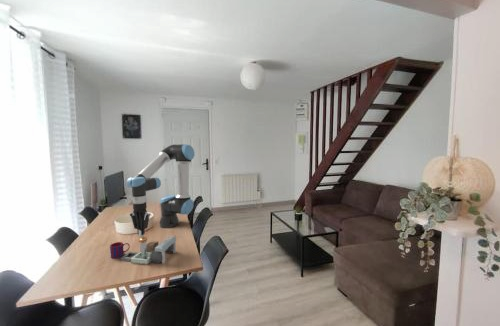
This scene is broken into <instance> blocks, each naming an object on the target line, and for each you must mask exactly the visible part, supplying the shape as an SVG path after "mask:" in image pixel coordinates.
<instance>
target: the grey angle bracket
mask: <svg viewBox="0 0 500 326" xmlns="http://www.w3.org/2000/svg"><path fill="white" fill-rule="evenodd" d="M176 242H177V235H176V234H175V235H173V236H172V237H168V236H167V238H165V239H164V240H163V241H161V243H158V244H159V245H158V246H157V247H155V250H154V251H153V252H152V253H151V255H150V258H151V260H152V261H151V262H152V263H153V264H159V263H161V264H165V263H166V253H167V254H170V253H171V252H173V254H176V253H177V246H176V245H177V244H176Z"/></svg>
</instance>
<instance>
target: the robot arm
mask: <svg viewBox="0 0 500 326" xmlns="http://www.w3.org/2000/svg"><path fill="white" fill-rule="evenodd" d="M194 157H195V149H194V148H193V146H192V145H190V144H184V143H183V144H182V143H181V144H170V145H168V146H167V147H165V148H163V149H162V150H161V151H160V152H159V153H158V155H157V157H155V158H154V159H153V160H151V162H150V163H148V164H147V166H145V167H144V168H143V169H142V170H140V171H139V172H138V173H137V174H136V175H135V176H131V177H128V178H127V180H126V186H127V187H128V188H130V189H131V196H132V209H133V210H132V212H131V213H129V216H130V217H131V221H132V225H133V228H134V229H135V230H137V235H138V240H139V239H140V238H143V237H144V236H145V232H146V231H145V230H146V229H147V228H148V225H149V222H150V216H152V215H151V213H148V210H147V208H148V207H147V192H150V191H153V190H156V189H159V188H160V187H161V185H162V184H161V183H162V181H161V179H160V178H159V177H153V176H154V175H155V173H157V172H158V171H159V170H160V169H161V168H162V167H163V166H164V165H165V164H166V163H169V162H170V161H171V160H175V163H176V164H177V187H176V189H177V190H176V191H177V192H176V195H175V194H174V195H167V196H164V197H162V198H160V215H161V216H160V220H159V227H160V228H164V229H166V228H167V229H169V228H175V227H176V226H179V224H180V219H179V217H178V215H177V214H180V215H188V214H190V213H191V212H192V210H193V209H194V200H193V199H191V195H190V193H189V191H190V190H189V186H190V185H189V184H190V183H189V182H190V164H191V163H192V160H193V159H194Z"/></svg>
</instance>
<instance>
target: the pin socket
mask: <svg viewBox="0 0 500 326" xmlns="http://www.w3.org/2000/svg"><path fill="white" fill-rule="evenodd" d="M138 253H139V252H135V251H129V252H126V254H124V255H123V256H121V257H120V260H121V261H125V262H131V258H133V257H134V256H135V255H137V254H138ZM130 256H132V257H130Z"/></svg>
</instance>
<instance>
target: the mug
mask: <svg viewBox="0 0 500 326" xmlns="http://www.w3.org/2000/svg"><path fill="white" fill-rule="evenodd" d="M126 245H128V247H127V249H126V250H124V246H126ZM130 247H131V246H130V243H128V242H125V243H124V242H123V241H118V242H113V243H111V244H110V246H109V251H110V258H111V259H117V258H118V259H119V258H121V257H123V256H124V255H125V253H127V252H128V251H129V250H130Z"/></svg>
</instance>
